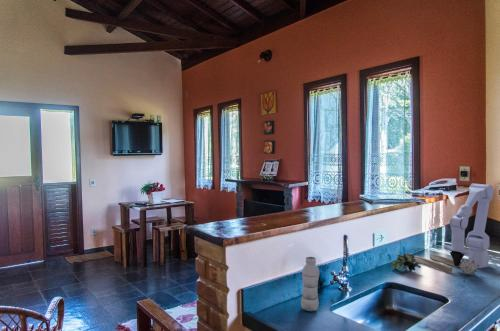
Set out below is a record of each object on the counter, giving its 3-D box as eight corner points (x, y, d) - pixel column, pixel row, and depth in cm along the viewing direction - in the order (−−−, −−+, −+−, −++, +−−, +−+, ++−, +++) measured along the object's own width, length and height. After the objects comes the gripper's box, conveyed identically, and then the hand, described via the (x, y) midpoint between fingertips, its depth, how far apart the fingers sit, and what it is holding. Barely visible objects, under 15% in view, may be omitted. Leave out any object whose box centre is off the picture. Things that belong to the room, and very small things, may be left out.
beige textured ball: (472, 283, 181) (484, 271, 175) (454, 275, 183) (466, 263, 176) (470, 269, 188) (481, 257, 182) (453, 262, 189) (464, 250, 183)
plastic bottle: (299, 306, 143) (300, 255, 142) (316, 305, 143) (317, 255, 142) (302, 313, 136) (303, 260, 135) (320, 313, 137) (321, 260, 136)
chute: (431, 258, 209) (431, 253, 209) (468, 270, 189) (468, 264, 189) (414, 261, 204) (414, 255, 204) (450, 273, 184) (450, 267, 184)
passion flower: (409, 280, 188) (425, 264, 184) (401, 282, 180) (417, 265, 176) (393, 264, 195) (408, 248, 191) (384, 264, 187) (400, 248, 183)
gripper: (439, 237, 192) (438, 263, 193) (466, 244, 179) (465, 271, 180) (449, 236, 195) (448, 261, 196) (475, 242, 182) (474, 269, 183)
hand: (456, 266), depth 188 cm, fingers closed
